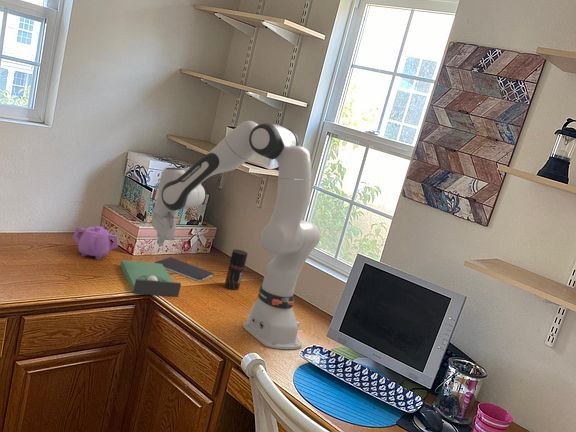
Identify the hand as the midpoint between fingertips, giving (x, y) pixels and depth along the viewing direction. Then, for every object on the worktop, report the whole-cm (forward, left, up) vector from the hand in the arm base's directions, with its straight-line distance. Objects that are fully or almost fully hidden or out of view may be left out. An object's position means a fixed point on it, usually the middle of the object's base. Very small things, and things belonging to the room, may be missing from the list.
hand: (159, 244), depth 225 cm
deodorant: (-4, -31, -13) cm, 34 cm away
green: (-4, +3, -13) cm, 14 cm away
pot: (+19, +20, -13) cm, 30 cm away
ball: (-10, +3, -11) cm, 15 cm away
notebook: (+11, -15, -14) cm, 23 cm away
